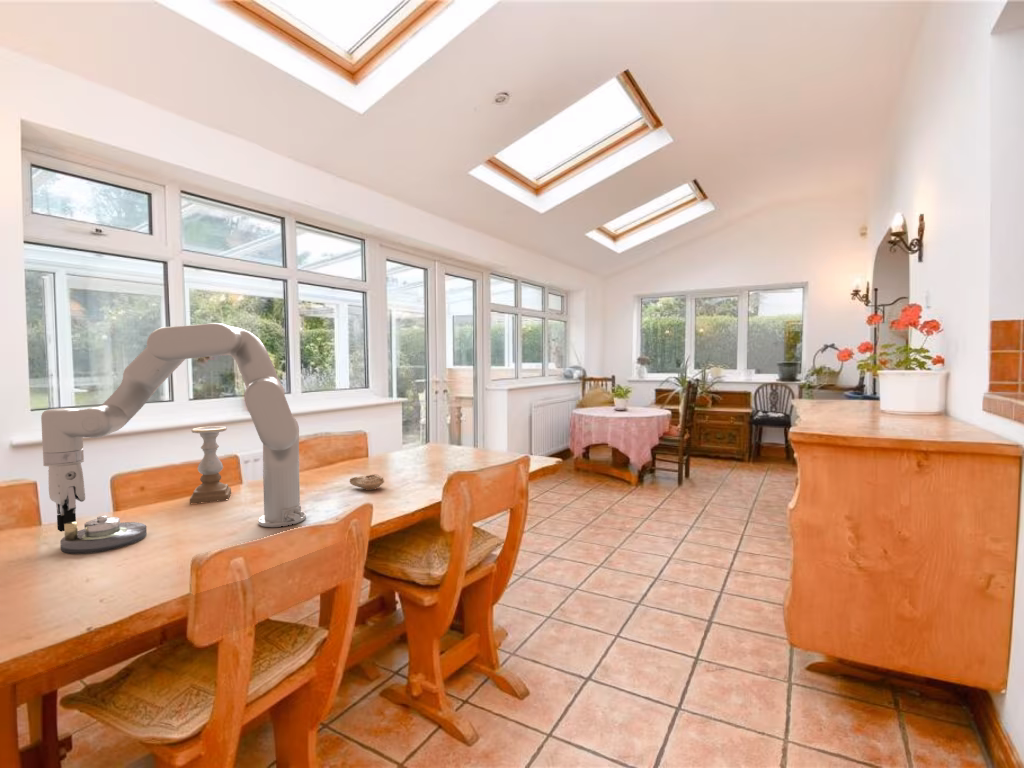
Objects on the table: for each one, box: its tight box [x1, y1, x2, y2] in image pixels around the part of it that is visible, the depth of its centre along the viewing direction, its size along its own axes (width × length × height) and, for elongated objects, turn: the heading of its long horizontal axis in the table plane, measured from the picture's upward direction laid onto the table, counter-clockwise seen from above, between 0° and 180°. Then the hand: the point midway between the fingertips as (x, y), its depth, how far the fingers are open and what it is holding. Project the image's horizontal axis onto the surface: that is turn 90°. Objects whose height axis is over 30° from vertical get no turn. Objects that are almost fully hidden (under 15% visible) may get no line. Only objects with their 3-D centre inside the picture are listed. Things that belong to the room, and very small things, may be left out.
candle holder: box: [189, 425, 232, 505], centre depth 166 cm, size 11×11×24 cm
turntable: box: [60, 520, 147, 555], centre depth 126 cm, size 17×17×6 cm
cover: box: [84, 514, 121, 538], centre depth 127 cm, size 7×7×4 cm
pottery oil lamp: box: [349, 473, 385, 491], centre depth 179 cm, size 9×12×7 cm
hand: (67, 529), depth 124 cm, fingers closed
